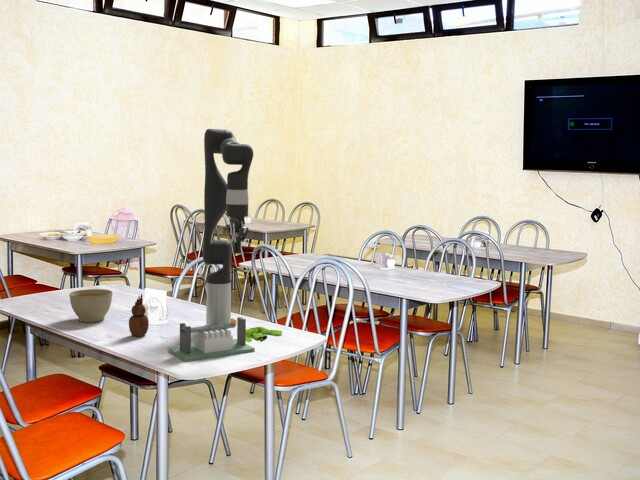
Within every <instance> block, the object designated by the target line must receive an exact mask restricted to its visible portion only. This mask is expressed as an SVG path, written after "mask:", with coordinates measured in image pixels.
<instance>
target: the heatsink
mask: <svg viewBox="0 0 640 480" xmlns="http://www.w3.org/2000/svg"><path fill="white" fill-rule="evenodd" d="M236 320H237V325H236V338H234V336H233V335H232V330H231V329H230V328H227V329H219V330H211V331H203V332H195V333H193V344H192V340H191V338H192V333H191V328H192V326H191V325H186V323H185V322H182V323H179V346H173V347H168V352H169V353H171V354H173V355H175V356H176V357H177V358H179V359H180V360H182V361H184V363H185V362H190V361H191V362H192V361H197V360H204V359H211V358H218V357H224V356H230V355H236V354H237V355H239V354H245V353H252V352H255V351H256V350H255V347H253V346H251V345H249V344H247V341H246V329H247V325H246V323H247V319H246V318H243V317H241V316H238V317H237V318H236ZM183 324H185V325H186V327H185V331H184V330H182V329H181V325H183Z"/></svg>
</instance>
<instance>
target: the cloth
mask: <svg viewBox="0 0 640 480" xmlns="http://www.w3.org/2000/svg"><path fill="white" fill-rule="evenodd" d="M282 333H283V330H278V329H268V328H266V327H262V326H255V327H250V328H246V343H252V342H253V340H254V341H260V342H263V341H264V340H268V336H275V337H282Z"/></svg>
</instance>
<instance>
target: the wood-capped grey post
mask: <svg viewBox="0 0 640 480" xmlns="http://www.w3.org/2000/svg"><path fill="white" fill-rule="evenodd" d="M186 326H187V325H186V323H185V324H183V325H181V329H182V330H184V331H185V327H186ZM236 327H237V319H236V318H232V317H231V323H226V324H218V325H209V326H206V325H203V326H201V325H200V326H195V327H191V334H192V333H193V334H195V333H196V332H203V331H211V330H219V329H233V328H236Z"/></svg>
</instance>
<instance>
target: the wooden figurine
mask: <svg viewBox="0 0 640 480" xmlns="http://www.w3.org/2000/svg"><path fill="white" fill-rule="evenodd" d="M131 314H132V315H131V316H130V317H129V319H128V328H129V332H130V334H131V336H133V337H143V336H145V335H146V334H147V332H148V331H149V330H148V329H149V326H150V325H149V318H148V316H147V315H146V306H145V305H144V302H143V293H141V294H140V295H138V298H137V299H136V301H135V302H134V305H133V306H132V307H131Z"/></svg>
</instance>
